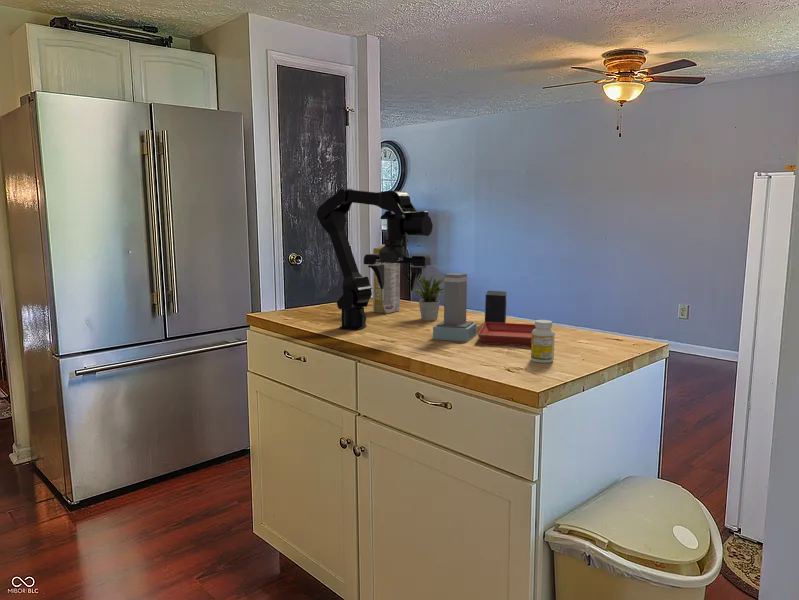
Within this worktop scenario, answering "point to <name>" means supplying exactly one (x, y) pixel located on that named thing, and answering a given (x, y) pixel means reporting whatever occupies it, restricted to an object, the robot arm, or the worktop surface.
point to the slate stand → (455, 331)
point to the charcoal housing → (455, 298)
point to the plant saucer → (506, 333)
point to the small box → (495, 306)
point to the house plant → (429, 298)
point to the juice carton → (387, 288)
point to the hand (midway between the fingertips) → (396, 289)
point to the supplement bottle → (542, 342)
